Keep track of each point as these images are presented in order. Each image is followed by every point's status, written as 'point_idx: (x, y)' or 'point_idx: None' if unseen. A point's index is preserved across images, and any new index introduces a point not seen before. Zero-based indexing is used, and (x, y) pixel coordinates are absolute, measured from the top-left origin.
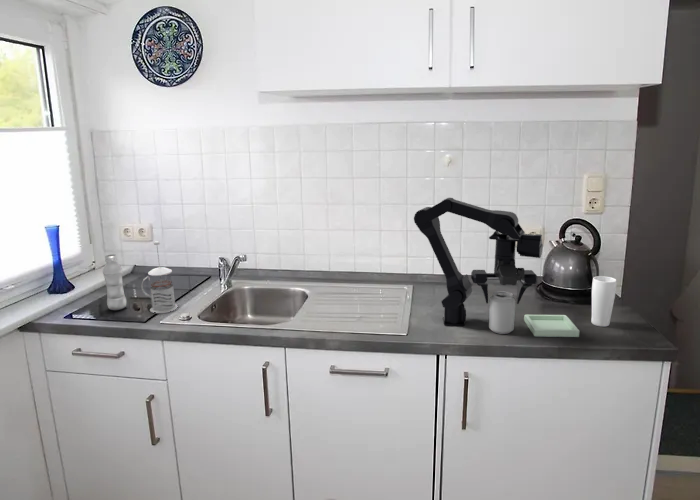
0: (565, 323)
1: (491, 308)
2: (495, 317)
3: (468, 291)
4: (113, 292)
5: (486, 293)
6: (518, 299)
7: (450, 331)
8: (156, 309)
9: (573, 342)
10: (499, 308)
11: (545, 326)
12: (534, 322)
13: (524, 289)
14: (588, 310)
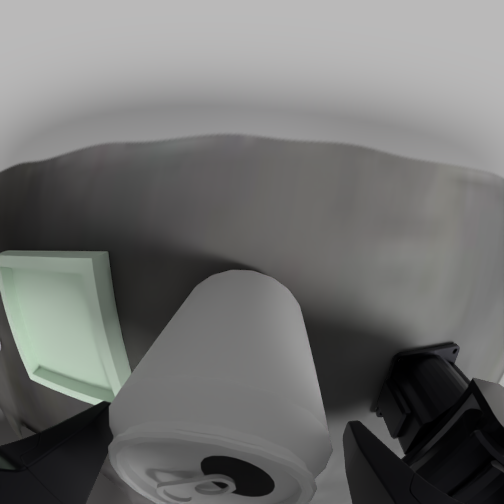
0: (31, 344)
1: (318, 385)
2: (289, 322)
3: (443, 485)
4: None
5: (398, 483)
6: (87, 419)
7: (457, 294)
8: None
9: (19, 204)
10: (265, 351)
11: (70, 331)
12: (103, 370)
13: (4, 450)
14: (22, 404)
